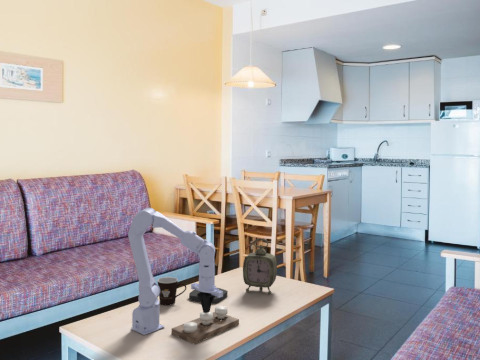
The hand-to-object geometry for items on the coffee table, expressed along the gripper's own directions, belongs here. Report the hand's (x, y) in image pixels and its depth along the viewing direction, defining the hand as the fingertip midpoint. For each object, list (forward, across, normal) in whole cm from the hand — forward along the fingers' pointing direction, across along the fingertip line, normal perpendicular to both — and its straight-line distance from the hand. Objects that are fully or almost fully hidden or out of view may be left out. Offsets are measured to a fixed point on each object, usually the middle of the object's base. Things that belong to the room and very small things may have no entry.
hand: (206, 312), depth 164 cm
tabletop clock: (+7, +12, -48) cm, 49 cm away
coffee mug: (+7, +30, -8) cm, 32 cm away
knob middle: (+4, 0, 0) cm, 4 cm away
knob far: (+4, 0, -8) cm, 9 cm away
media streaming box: (+7, +24, -26) cm, 36 cm away
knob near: (+6, 0, +8) cm, 10 cm away
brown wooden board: (+6, 0, 0) cm, 6 cm away
